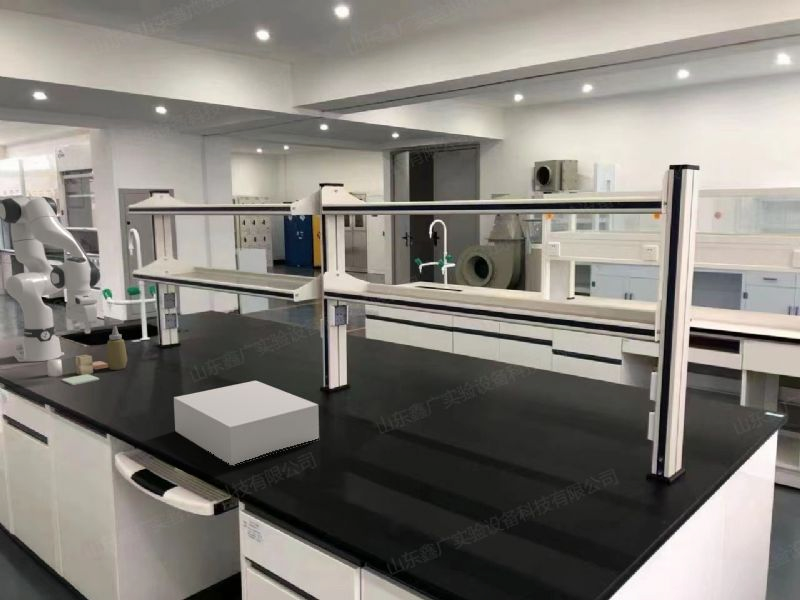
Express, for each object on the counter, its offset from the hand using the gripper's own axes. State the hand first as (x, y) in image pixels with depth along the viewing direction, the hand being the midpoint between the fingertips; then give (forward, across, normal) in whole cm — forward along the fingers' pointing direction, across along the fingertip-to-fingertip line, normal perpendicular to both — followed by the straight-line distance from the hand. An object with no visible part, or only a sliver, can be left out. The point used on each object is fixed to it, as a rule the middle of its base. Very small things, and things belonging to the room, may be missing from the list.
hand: (82, 331), depth 249 cm
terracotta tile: (+18, -6, +8) cm, 20 cm away
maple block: (+17, 0, 0) cm, 17 cm away
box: (+19, +109, -1) cm, 110 cm away
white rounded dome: (+17, -6, -9) cm, 20 cm away
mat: (+17, +10, -6) cm, 21 cm away
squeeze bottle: (+17, +3, +12) cm, 21 cm away
